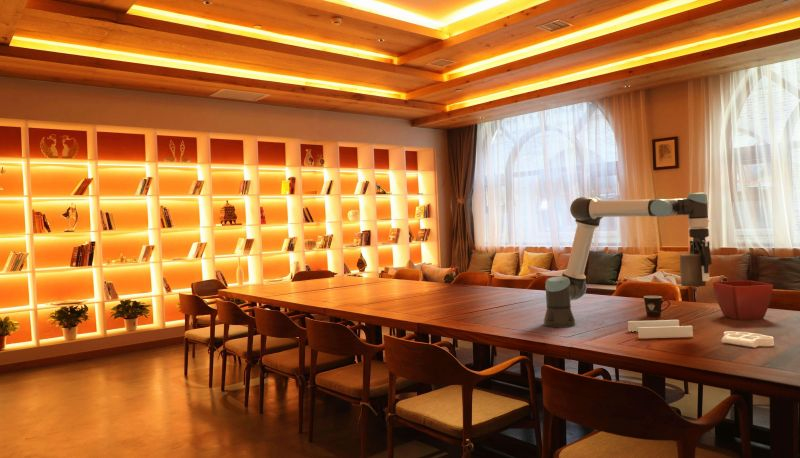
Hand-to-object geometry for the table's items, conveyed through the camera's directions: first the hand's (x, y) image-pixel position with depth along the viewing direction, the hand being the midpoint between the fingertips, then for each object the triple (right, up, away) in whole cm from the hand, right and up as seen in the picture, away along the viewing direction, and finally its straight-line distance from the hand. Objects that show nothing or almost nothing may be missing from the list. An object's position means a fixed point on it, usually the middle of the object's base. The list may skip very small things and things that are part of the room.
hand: (700, 279), depth 242 cm
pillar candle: (-3, -3, 0) cm, 4 cm away
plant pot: (+37, -21, +29) cm, 51 cm away
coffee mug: (0, -23, +42) cm, 48 cm away
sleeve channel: (-17, -24, +2) cm, 30 cm away
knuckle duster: (+7, -24, -21) cm, 33 cm away
